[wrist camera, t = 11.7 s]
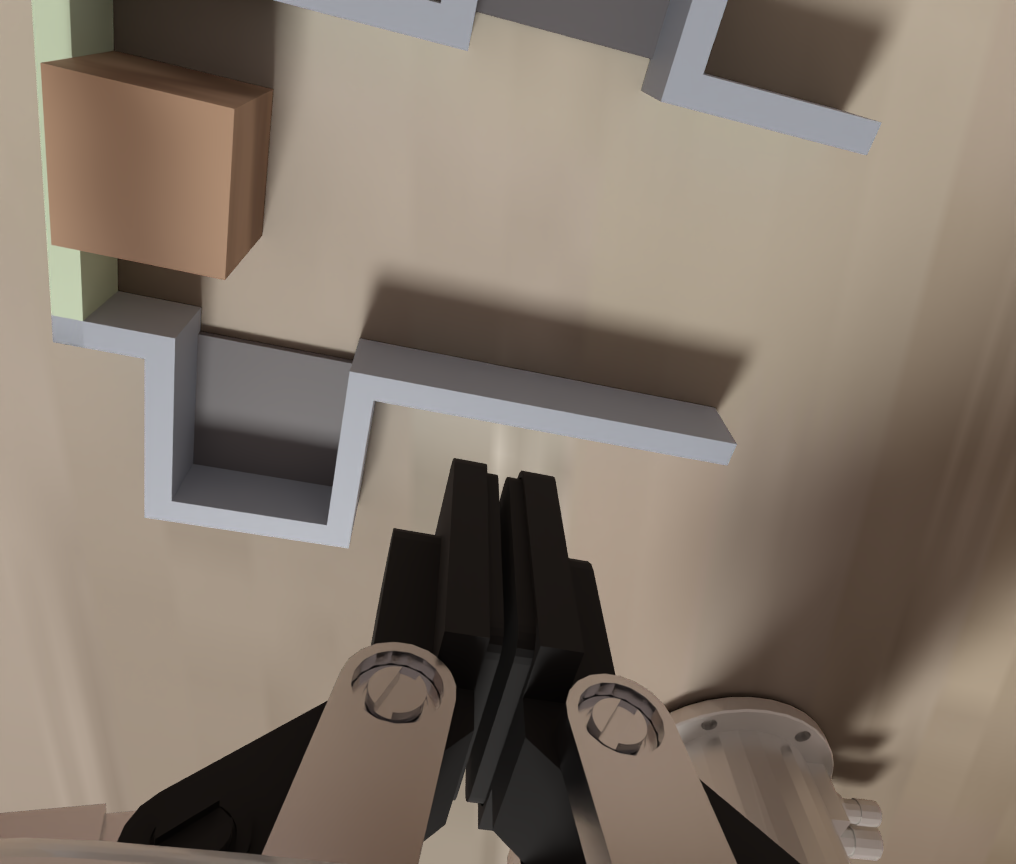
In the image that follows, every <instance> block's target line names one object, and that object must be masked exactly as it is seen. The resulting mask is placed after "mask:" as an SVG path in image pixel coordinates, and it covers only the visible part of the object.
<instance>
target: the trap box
mask: <svg viewBox="0 0 1016 864" xmlns="http://www.w3.org/2000/svg"><path fill="white" fill-rule="evenodd" d="M275 1H279V2H282V3H286V4H290V5H294V6H298V7H301V8H305V9H309V10H313V11H317V12H321V13H324V14H328V15H332V16H336V17H340V18H344V19H347V20H351V21H355V22H359V23H363V24H366V25H370V26H374V27H378V28H382V29H386V30H389V31H393V32H397V33H401V34H405V35H409V36H412V37H416V38H420V39H424V40H428V41H431V42H435V43H439V44H443V45H447V46H451V47H454V48H458V49H462V50H466V51H468V48H469V42H470V37H471V32H472V27H473V21H474V16H475V11H476V12H480V13H483V14H487V15H491V16H495V17H498V18H502V19H506V20H509V21H513V22H517V23H520V24H524V25H528V26H531V27H535V28H539V29H543V30H546V31H550V32H554V33H557V34H561V35H565V36H568V37H572V38H576V39H580V40H583V41H587V42H591V43H594V44H598V45H602V46H605V47H609V48H613V49H617V50H620V51H624V52H628V53H631V54H635V55H639V56H642V57H646V58H650V62H649V65H648V69H647V72H646V76H645V79H644V82H643V86H642V89H641V91H643V92H645V93H646V94H648V95H650V96H652V97H654V98H655V99H657V100H659V101H661V102H665V103H669V104H672V105H676V106H680V107H684V108H688V109H691V110H695V111H699V112H703V113H707V114H711V115H714V116H718V117H722V118H726V119H730V120H734V121H737V122H741V123H745V124H749V125H753V126H756V127H760V128H764V129H768V130H772V131H776V132H779V133H783V134H787V135H791V136H795V137H799V138H802V139H806V140H810V141H814V142H818V143H822V144H825V145H829V146H833V147H837V148H841V149H844V150H848V151H852V152H856V153H860V154H864V155H867V154H868V152H869V150H870V147H871V145H872V143H873V141H874V138H875V136H876V134H877V132H878V130H879V127H880V125H881V122H878V121H875V120H871V119H868V118H865V117H862V116H858V115H855V114H852V113H849V112H846V111H842V110H839V109H835V108H832V107H828V106H824V105H820V104H817V103H813V102H809V101H806V100H802V99H798V98H795V97H791V96H787V95H783V94H780V93H776V92H772V91H769V90H765V89H761V88H758V87H754V86H750V85H747V84H743V83H739V82H735V81H732V80H728V79H724V78H721V77H717V76H713V75H710V74H706V73H704V70H705V67H706V64H707V61H708V58H709V55H710V52H711V49H712V46H713V43H714V40H715V37H716V34H717V31H718V28H719V25H720V22H721V19H722V16H723V13H724V10H725V7H726V4H727V1H728V0H441V2H440V1H436V0H275ZM31 2H32V18H33V34H34V49H35V65H36V81H37V97H38V112H39V128H40V144H41V159H42V175H43V191H44V207H45V222H46V238H47V254H48V269H49V285H50V301H51V316H52V332H53V342H55V343H61V344H66V345H72V346H77V347H83V348H88V349H94V350H99V351H105V352H110V353H116V354H121V355H127V356H132V357H137V358H143V359H145V518H151V519H158V520H165V521H171V522H178V523H184V524H191V525H198V526H204V527H211V528H217V529H224V530H231V531H237V532H244V533H250V534H257V535H264V536H270V537H277V538H283V539H290V540H297V541H303V542H310V543H317V544H323V545H330V546H336V547H343V548H349V544H350V539H351V535H352V530H353V525H354V520H355V516H356V511H357V506H358V500H359V494H360V489H361V483H362V477H363V471H364V465H365V459H366V453H367V447H368V442H369V436H370V430H371V424H372V418H373V412H374V406H375V401H378V402H383V403H389V404H394V405H400V406H405V407H411V408H416V409H421V410H427V411H432V412H438V413H443V414H449V415H454V416H460V417H465V418H471V419H476V420H482V421H487V422H493V423H498V424H503V425H509V426H514V427H520V428H525V429H531V430H536V431H542V432H547V433H553V434H558V435H564V436H569V437H574V438H580V439H585V440H591V441H596V442H602V443H607V444H613V445H618V446H624V447H629V448H635V449H640V450H645V451H651V452H656V453H662V454H667V455H673V456H678V457H684V458H689V459H695V460H700V461H706V462H711V463H716V464H722V465H728V463H729V461H730V459H731V456H732V454H733V452H734V450H735V447H736V445H737V444H736V442H735V440H734V439H733V437H732V435H731V434H730V432H729V430H728V429H727V427H726V425H725V424H724V422H723V420H722V419H721V417H720V415H719V414H718V412H717V410H716V409H715V408H714V407H709V406H704V405H698V404H693V403H688V402H683V401H678V400H673V399H668V398H663V397H658V396H652V395H647V394H642V393H637V392H632V391H627V390H622V389H617V388H612V387H606V386H601V385H596V384H591V383H586V382H581V381H576V380H571V379H565V378H560V377H555V376H550V375H545V374H540V373H535V372H530V371H525V370H519V369H514V368H509V367H504V366H499V365H494V364H489V363H484V362H479V361H473V360H468V359H463V358H458V357H453V356H448V355H443V354H438V353H433V352H427V351H422V350H417V349H412V348H407V347H402V346H397V345H392V344H387V343H381V342H376V341H371V340H366V339H361V338H360V339H359V343H358V346H357V349H356V352H355V356H354V359H353V360H348V359H343V358H338V357H333V356H327V355H322V354H317V353H312V352H307V351H301V350H296V349H291V348H286V347H280V346H275V345H270V344H265V343H259V342H254V341H249V340H244V339H238V338H233V337H228V336H223V335H217V334H212V333H207V332H202V331H200V328H201V307H197V306H192V305H187V304H182V303H177V302H172V301H167V300H162V299H156V298H151V297H146V296H141V295H136V294H131V293H126V292H121V291H118V258H114V257H109V256H104V255H99V254H94V253H89V252H84V251H79V250H74V249H69V248H64V247H60V246H55V245H51V230H50V214H49V197H48V181H47V164H46V147H45V131H44V114H43V97H42V81H41V64H40V63H42V62H48V61H54V60H61V59H67V58H73V57H79V56H85V55H91V54H97V53H104V52H110V51H114V27H113V0H31Z"/></svg>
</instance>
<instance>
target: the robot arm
mask: <svg viewBox="0 0 1016 864" xmlns="http://www.w3.org/2000/svg"><path fill="white" fill-rule="evenodd" d="M833 768H834V762H833V754H832V751H831V748H830V746H829V744H828V742H827V739H826V737H825V735H824V733H823V732H822V730H821V729H820V727H819V726H818V724H817V723H816V722H815V721H814V720H813V719H811V718H810V717H809V716H808V715H807V714H806V713H804V712H802V711H800V710H798V709H796V708H794V707H793V706H791V705H788V704H784V703H781V702H778V701H774V700H770V699H763V698H755V697H726V698H719V699H712V700H706V701H703V702H699V703H695V704H691V705H688V706H685V707H682V708H680V709H678V710H675V711H673V712H670V713H669V712H668V710H667V709H666V707H665V705H664V704H663V703H662V702H661V701H660V700H659V699H658V698H657V697H656V696H655V695H654V694H653V693H652V692H651V691H649V690H648V689H646V688H645V687H643V686H642V685H640V684H639V683H637V682H635V681H632V680H630V679H627V678H624V677H622V676H617V675H615V671H614V666H613V662H612V657H611V652H610V647H609V643H608V638H607V633H606V628H605V624H604V619H603V614H602V609H601V605H600V600H599V595H598V590H597V585H596V581H595V576H594V571H593V568H592V565H591V564H590V563H589V562H588V561H582V560H576V559H570V558H568V553H567V547H566V541H565V535H564V529H563V523H562V517H561V511H560V505H559V499H558V493H557V487H556V481H555V478H554V477H553V476H547V475H542V474H537V473H531V472H526V471H521V472H520V473H519V476H518V478H517V479H516V478H511V477H507V478H506V480H505V483H504V487H503V490H502V494H501V498H500V501H499V484H498V475H495V474H489V473H487V464H483V463H478V462H472V461H467V460H462V459H456V458H454V459H453V461H452V465H451V469H450V473H449V477H448V482H447V486H446V490H445V494H444V499H443V503H442V507H441V512H440V516H439V520H438V524H437V529H436V533H435V535H431V534H425V533H419V532H413V531H407V530H402V529H396V528H394V529H393V533H392V537H391V542H390V547H389V552H388V557H387V562H386V567H385V572H384V577H383V583H382V588H381V593H380V598H379V604H378V609H377V614H376V620H375V626H374V631H373V637H372V643H371V646H368V647H366V648H363V649H361V650H360V651H358V652H357V653H355V654H354V655H353V656H351V657H350V658H349V659H348V660H347V662H346V663H345V665H344V666H343V668H342V669H341V671H340V673H339V676H338V678H337V680H336V683H335V685H334V687H333V690H332V692H331V694H330V697H329V699H328V701H326V702H324V703H322V704H321V705H319V706H317V707H315V708H313V709H311V710H310V711H308V712H306V713H304V714H302V715H300V716H299V717H297V718H295V719H293V720H291V721H289V722H288V723H286V724H284V725H282V726H280V727H278V728H277V729H275V730H273V731H271V732H269V733H267V734H266V735H264V736H262V737H260V738H258V739H256V740H255V741H253V742H251V743H249V744H247V745H245V746H244V747H242V748H240V749H238V750H236V751H234V752H233V753H231V754H229V755H227V756H225V757H223V758H222V759H220V760H218V761H216V762H214V763H212V764H211V765H209V766H207V767H205V768H203V769H201V770H200V771H198V772H196V773H194V774H192V775H190V776H189V777H187V778H185V779H183V780H181V781H179V782H178V783H176V784H174V785H172V786H170V787H168V788H167V789H165V790H163V791H161V792H159V793H158V794H157V795H155V796H154V797H152V798H151V799H150V800H148V801H147V802H145V803H144V804H143V805H141V806H140V807H139V808H138V809H137V811H128V812H117V813H107V814H106V804H95V805H84V806H73V807H62V808H51V809H40V810H29V811H18V812H7V813H0V864H418V863H419V858H420V854H421V850H422V845H423V842H424V841H425V840H426V839H427V838H429V837H430V836H431V835H433V834H434V833H435V832H436V831H438V830H439V829H440V828H441V827H443V826H444V825H445V824H446V820H447V817H448V814H449V811H450V807H451V804H452V801H453V800H455V799H456V797H457V794H458V791H459V788H460V785H461V782H462V778H463V775H464V772H465V769H466V788H465V794H466V801H467V802H473V803H478V829H483V830H492V831H494V832H495V833H496V834H497V835H498V836H499V837H500V838H501V839H502V841H503V842H504V843H505V844H506V845H507V846H508V847H509V848H510V851H509V854H508V857H507V864H851V862H850V860H849V858H855V859H865V860H875V861H877V860H878V859H879V858H881V856H882V853H883V839H882V836H881V833H880V831H879V830H878V828H877V827H878V826H880V824H881V821H882V812H881V809H880V806H879V805H878V803H877V802H876V801H873V800H865V799H856V798H852V799H845V798H842V796H840V795H839V794H838V793H837V792H836V790H835V788H834V786H833V784H832V782H831V778H832V773H833Z"/></svg>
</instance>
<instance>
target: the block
mask: <svg viewBox="0 0 1016 864" xmlns="http://www.w3.org/2000/svg"><path fill="white" fill-rule="evenodd" d="M40 64H41V81H42V97H43V114H44V131H45V147H46V164H47V181H48V197H49V214H50V230H51V245H55V246H60V247H64V248H69V249H74V250H79V251H84V252H89V253H94V254H99V255H104V256H109V257H114V258H119V259H124V260H129V261H134V262H139V263H144V264H149V265H153V266H158V267H163V268H168V269H173V270H178V271H183V272H188V273H193V274H198V275H203V276H208V277H213V278H218V279H223V280H225V279H226V278H227V277H228V276H229V275H230V273H231V272H232V271H233V270H234V269H235V267H236V266H237V265H238V264H239V263H240V261H241V260H242V259H243V258H244V257H245V255H246V254H247V253H248V252H249V251H250V249H251V248H252V247H253V246H254V245H255V243H256V242H257V241H258V240H259V239H260V238H261V236H262V230H263V218H264V205H265V192H266V179H267V166H268V153H269V140H270V128H271V115H272V102H273V89H270V88H266V87H262V86H258V85H254V84H250V83H245V82H241V81H237V80H233V79H229V78H225V77H221V76H217V75H213V74H208V73H204V72H200V71H196V70H192V69H188V68H184V67H180V66H176V65H172V64H167V63H163V62H159V61H155V60H151V59H147V58H143V57H139V56H135V55H130V54H126V53H122V52H118V51H110V52H104V53H97V54H91V55H85V56H79V57H73V58H67V59H61V60H54V61H48V62H42V63H40Z"/></svg>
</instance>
